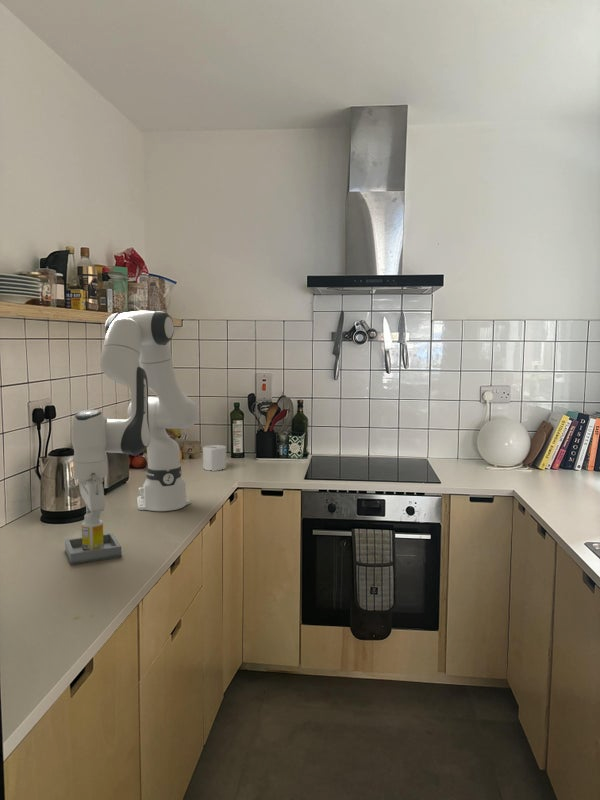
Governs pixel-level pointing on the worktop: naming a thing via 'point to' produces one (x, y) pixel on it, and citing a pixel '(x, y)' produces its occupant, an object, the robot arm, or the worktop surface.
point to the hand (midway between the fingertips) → (92, 519)
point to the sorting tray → (79, 556)
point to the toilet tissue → (214, 457)
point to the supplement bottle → (92, 533)
